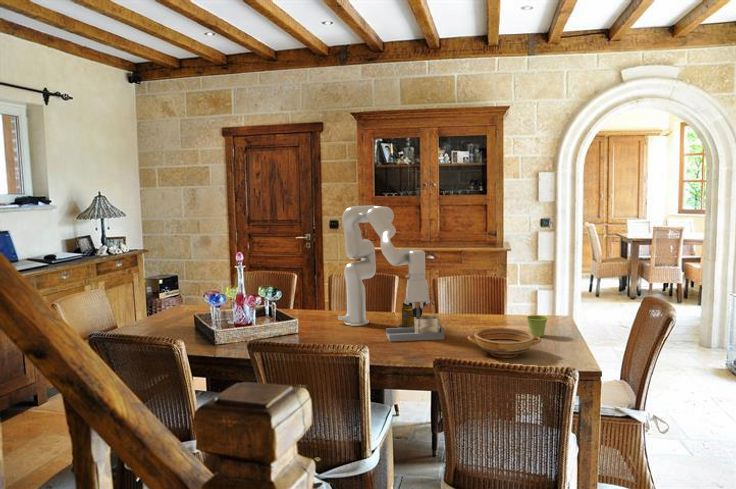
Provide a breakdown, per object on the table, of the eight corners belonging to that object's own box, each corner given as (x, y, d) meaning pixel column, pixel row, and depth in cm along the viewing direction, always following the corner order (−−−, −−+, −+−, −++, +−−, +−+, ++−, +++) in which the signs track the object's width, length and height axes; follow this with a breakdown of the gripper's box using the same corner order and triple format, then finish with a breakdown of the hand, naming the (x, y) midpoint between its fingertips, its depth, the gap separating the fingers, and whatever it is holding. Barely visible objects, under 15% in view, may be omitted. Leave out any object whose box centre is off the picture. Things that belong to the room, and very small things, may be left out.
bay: (389, 341, 260) (389, 330, 259) (386, 334, 272) (385, 324, 271) (444, 339, 262) (444, 328, 262) (438, 332, 274) (438, 322, 274)
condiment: (417, 326, 286) (417, 303, 285) (404, 329, 281) (403, 305, 280) (408, 324, 292) (408, 300, 291) (395, 326, 287) (394, 302, 286)
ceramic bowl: (467, 361, 229) (467, 341, 228) (467, 344, 253) (467, 326, 252) (545, 363, 224) (545, 343, 223) (537, 346, 248) (537, 328, 247)
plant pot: (546, 339, 259) (547, 320, 259) (525, 337, 263) (525, 319, 262) (548, 334, 268) (548, 315, 267) (527, 332, 271) (527, 314, 270)
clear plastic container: (417, 336, 263) (417, 310, 261) (414, 332, 271) (414, 306, 270) (439, 336, 264) (439, 309, 262) (435, 331, 272) (435, 305, 271)
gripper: (401, 278, 260) (401, 319, 262) (435, 277, 261) (435, 317, 263) (398, 276, 267) (399, 315, 269) (432, 275, 269) (432, 314, 271)
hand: (417, 316), depth 266 cm, fingers closed
